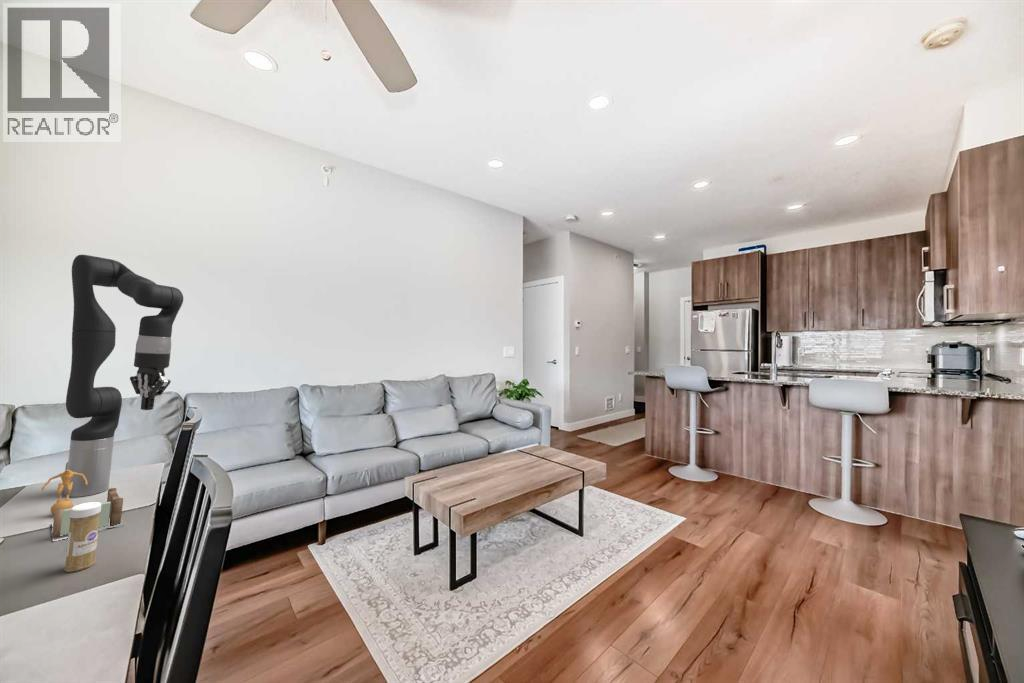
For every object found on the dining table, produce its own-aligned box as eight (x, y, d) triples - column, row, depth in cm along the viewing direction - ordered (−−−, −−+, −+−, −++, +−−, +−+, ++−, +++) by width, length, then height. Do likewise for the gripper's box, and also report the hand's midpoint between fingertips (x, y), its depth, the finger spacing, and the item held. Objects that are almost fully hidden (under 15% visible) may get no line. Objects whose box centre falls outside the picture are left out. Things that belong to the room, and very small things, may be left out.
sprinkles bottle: (83, 572, 79) (89, 509, 80) (56, 573, 78) (63, 510, 79) (101, 560, 84) (107, 500, 84) (76, 561, 83) (83, 501, 83)
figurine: (35, 521, 98) (40, 476, 98) (41, 513, 102) (46, 469, 103) (82, 513, 103) (87, 470, 104) (86, 506, 108) (90, 465, 108)
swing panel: (108, 523, 98) (110, 500, 98) (108, 526, 97) (110, 502, 97) (52, 535, 91) (54, 509, 91) (51, 537, 90) (54, 511, 90)
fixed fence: (104, 513, 104) (106, 489, 104) (114, 510, 106) (117, 487, 106) (110, 527, 97) (112, 501, 97) (121, 524, 99) (123, 499, 99)
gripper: (184, 353, 111) (177, 410, 111) (151, 349, 114) (145, 405, 114) (155, 353, 104) (148, 414, 104) (121, 349, 107) (114, 408, 107)
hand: (146, 409), depth 109 cm, fingers closed
